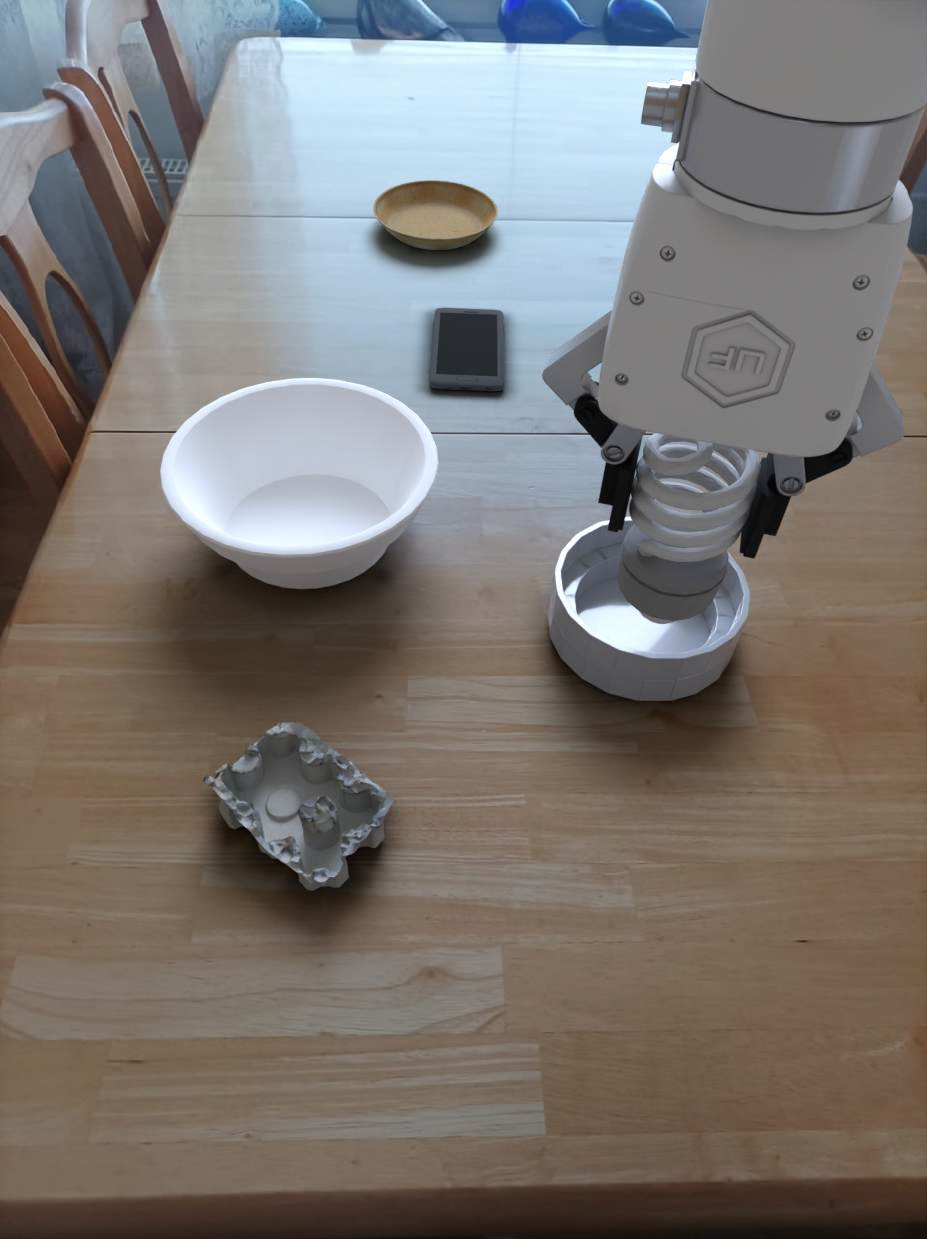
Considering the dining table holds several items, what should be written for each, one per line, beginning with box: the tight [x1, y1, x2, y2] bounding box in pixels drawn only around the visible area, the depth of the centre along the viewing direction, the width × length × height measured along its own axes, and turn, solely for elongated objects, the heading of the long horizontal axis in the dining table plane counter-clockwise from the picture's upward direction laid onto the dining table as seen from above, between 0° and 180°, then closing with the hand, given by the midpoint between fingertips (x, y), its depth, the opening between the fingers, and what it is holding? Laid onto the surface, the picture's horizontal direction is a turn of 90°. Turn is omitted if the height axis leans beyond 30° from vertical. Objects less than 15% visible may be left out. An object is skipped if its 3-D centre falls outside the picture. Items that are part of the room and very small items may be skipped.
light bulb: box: [618, 433, 761, 624], centre depth 46 cm, size 6×6×12 cm
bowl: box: [159, 377, 440, 590], centre depth 74 cm, size 21×21×8 cm
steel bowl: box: [547, 516, 752, 702], centre depth 70 cm, size 14×14×6 cm
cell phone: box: [429, 307, 506, 392], centre depth 95 cm, size 7×14×1 cm, turn 179°
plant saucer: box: [372, 179, 499, 251], centre depth 112 cm, size 15×15×3 cm
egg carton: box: [202, 721, 395, 892], centre depth 59 cm, size 11×8×4 cm
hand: (683, 522), depth 45 cm, fingers closed on light bulb, 5 cm apart
